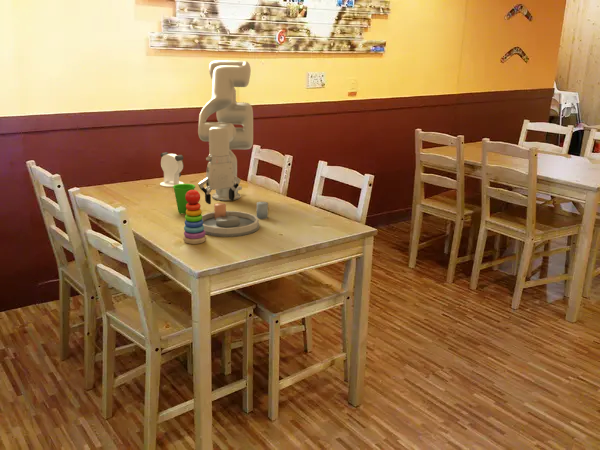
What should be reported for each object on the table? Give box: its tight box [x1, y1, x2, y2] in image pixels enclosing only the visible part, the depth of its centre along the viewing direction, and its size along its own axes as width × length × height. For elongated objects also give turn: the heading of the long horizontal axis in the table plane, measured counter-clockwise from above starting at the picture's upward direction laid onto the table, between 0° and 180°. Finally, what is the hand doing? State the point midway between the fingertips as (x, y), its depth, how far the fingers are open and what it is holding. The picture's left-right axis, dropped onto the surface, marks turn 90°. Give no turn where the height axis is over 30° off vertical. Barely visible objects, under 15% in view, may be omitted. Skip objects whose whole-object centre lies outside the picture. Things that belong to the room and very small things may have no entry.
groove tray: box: [201, 210, 260, 238], centre depth 223 cm, size 24×24×3 cm
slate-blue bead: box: [256, 201, 269, 220], centre depth 236 cm, size 4×4×6 cm
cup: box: [172, 183, 196, 215], centre depth 239 cm, size 9×9×11 cm
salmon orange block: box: [213, 202, 227, 220], centre depth 228 cm, size 4×4×6 cm
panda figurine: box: [159, 151, 185, 188], centre depth 283 cm, size 12×11×15 cm
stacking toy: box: [182, 189, 207, 245], centre depth 204 cm, size 8×8×19 cm
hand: (220, 201), depth 228 cm, fingers open, 9 cm apart
